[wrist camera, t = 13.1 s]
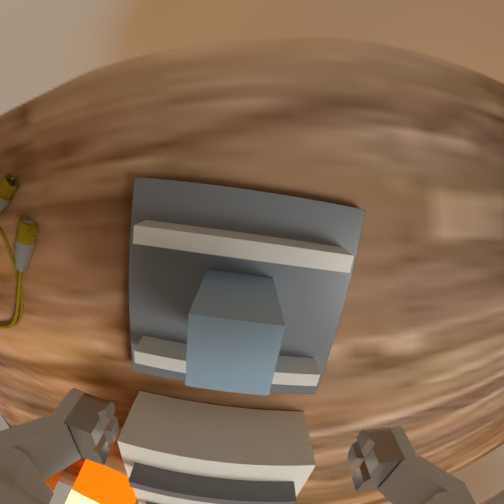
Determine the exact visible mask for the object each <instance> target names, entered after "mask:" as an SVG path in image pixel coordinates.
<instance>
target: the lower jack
mask: <svg viewBox="0 0 504 504" xmlns="http://www.w3.org/2000/svg"><path fill="white" fill-rule="evenodd" d="M364 215H365V210H363V209H360V208H355V207H350V206H345V205H340V204H335V203H330V202H324V201H319V200H313V199H308V198H302V197H296V196H290V195H284V194H278V193H271V192H265V191H258V190H251V189H244V188H237V187H229V186H221V185H213V184H205V183H196V182H187V181H178V180H167V179H157V178H145V177H135V180H134V190H133V201H132V213H131V229H130V250H129V317H130V338H131V353H132V365H133V371H136V372H140V373H144V374H149V375H153V376H158V377H163V378H168V379H173V380H179V381H184V382H186V354H187V333H188V316H189V311H190V309H191V307H192V304H193V302H194V299H195V297H196V295H197V292H198V290H199V288H200V285H201V283H202V281H203V278H204V276H205V274H206V271H207V269H209V270H216V271H223V272H230V273H238V274H245V275H253V276H260V277H268V278H273V279H274V283H275V287H276V291H277V295H278V299H279V303H280V307H281V311H282V315H283V319H284V323H285V329H284V333H283V338H282V342H281V346H280V351H279V355H278V359H277V364H276V368H275V372H274V376H273V380H272V384H271V388H270V392H276V393H294V394H316V391H317V388H318V386H319V383H320V380H321V377H322V374H323V371H324V368H325V365H326V362H327V359H328V356H329V353H330V350H331V347H332V344H333V340H334V337H335V334H336V331H337V327H338V324H339V320H340V317H341V313H342V310H343V306H344V302H345V299H346V295H347V291H348V287H349V283H350V279H351V275H352V271H353V267H354V262H355V258H356V254H357V249H358V245H359V240H360V235H361V230H362V225H363V220H364Z"/></svg>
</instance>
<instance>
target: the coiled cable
mask: <svg viewBox="0 0 504 504" xmlns="http://www.w3.org/2000/svg"><path fill="white" fill-rule="evenodd" d="M15 178H16V176H15V174H14V175H13V174H11V173H8V174H7V175H6V176H5V178H4V179H3V181H2V183H1V184H0V213H1V212H2V211H3V209H4V208H5V207H7V206H8V205H9V202H10V200H11V199H12V195H13V193H14V192H15V190H16V189H17V187H18V186H19V183H18V184H17V186H16V187H15V185H13V186H11V184H12V182H13V181H14V179H15ZM37 229H38V224H36V223H35V222H32V221H31V220H30V219H28V218H27V217H23V216H22V218H21V219H20V222H19V226H18V231H17V236H16V242H15V245H14V248H15V260H14V257H13V255H12V252H11V249H10V246H9V244H8V241H7V239H6V236H5V234H4V232H3V231H2V229H1V228H0V234H1V235H2V238H3V240H4V242H5V245H6V247H7V250H8V253H9V255H10V258H11V261H12V264H13V267H14V271H15V274H16V278H17V282H18V286H17V300H16V310H15V315H14V319H13V321H12V322H11V323H3V322H0V328H10V327H12V326H15V325H17V324H18V323H19V322H20V320H21V318H22V314H23V294H22V287H21V279H22V271H26V270H27V266H28V264H29V261H30V258H31V256H32V252H33V250H34V244H35V239H36V235H37ZM18 271H19V274H18ZM19 302H20V314H19V317H18V312H19ZM17 317H18V319H17Z"/></svg>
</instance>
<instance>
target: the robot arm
mask: <svg viewBox="0 0 504 504" xmlns="http://www.w3.org/2000/svg"><path fill="white" fill-rule="evenodd" d="M114 412H115V406H114V403H113V402H110V401H107V400H104V399H101V398H99V397H96V396H93V395H91V394H88V393H85V392H82V391H80V390H77V389H75V388H74V389H72V390H70V391H69V392H68V394H67V395H66V396H65V398H64V399H63V400H62V402H61V403H60V404H59V406H58V407H57V408H56V410H55V411H54V412H53V414H52V415H51V416H50V417H49V416H44V417H41V418H38V419H35V420H33V421H30V422H27V423H24V424H21V425H18V426H15V427H12V428H9V429H6V430H3V431H0V504H49V502H50V500H51V498H52V496H53V491H52V489H51V488H50V487H49V485H48V484H47V483H46V482H45V479H47V478H49V477H51V476H52V475H54V474H56V473H58V472H59V471H61V470H63V469H65V468H66V467H68V466H70V465H71V464H73V463H75V462H76V461H78V460H80V459H81V457H82V458H85V459H88V460H90V461H93V462H96V463H99V464H102V465H104V463H105V461H106V459H107V457H108V455H109V453H110V450H109V447H108V445H110V444H112V443H114V442H115V440H116V437H117V434H118V429H119V427H118V419H117V417H116V416H115V415H114ZM357 439H358V441H357V442H356V443H354V444H353V445H352V446H351V448H350V450H349V453H348V464H349V468H350V469H351V470H353V471H354V472H355V473H354V475H353V477H352V478H353V482H354V485H355V489H356V491H363V490H370V489H377V488H378V489H377V490H379V491H380V492H381V493H382V494H383V495H384V496H385V497H386V498H387V499H388V500H389V501H390V502H391V503H393V504H475V502H474V500H473V498H472V496H471V494H470V492H469V490H468V488H467V486H466V485H465V483H464V482H463V481H461V480H459V479H458V478H456V477H454V476H452V475H451V474H449V473H447V472H446V471H444V470H442V469H441V468H439V467H437V466H436V465H434V464H432V463H431V462H429V461H427V460H426V459H424V458H423V457H421V456H420V457H417V455H416V453H415V451H414V449H413V447H412V445H411V443H410V441H409V439H408V437H407V435H406V434H405V432H404V430H403V428H402V427H400V426H397V427H389V428H379V429H370V430H362V431H361V432H360V433H359V434H358V436H357ZM481 504H504V490H502V491H501V492H499V493H498V494H496V495H494V496H493V497H491V498H489V499H488V500H486V501H484V502H483V503H481Z"/></svg>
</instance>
